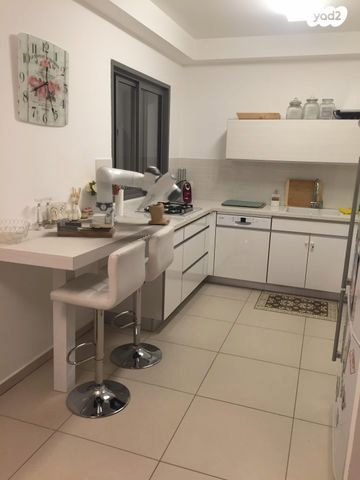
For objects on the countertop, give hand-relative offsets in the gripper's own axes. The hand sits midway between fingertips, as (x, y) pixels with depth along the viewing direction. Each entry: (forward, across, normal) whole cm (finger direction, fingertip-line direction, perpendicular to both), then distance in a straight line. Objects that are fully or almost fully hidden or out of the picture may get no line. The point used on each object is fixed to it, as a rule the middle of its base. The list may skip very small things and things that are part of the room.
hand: (137, 210), depth 246 cm
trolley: (+23, 0, +7) cm, 24 cm away
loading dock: (+32, 0, +11) cm, 34 cm away
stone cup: (+3, +44, -21) cm, 48 cm away
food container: (+27, +18, +5) cm, 33 cm away
